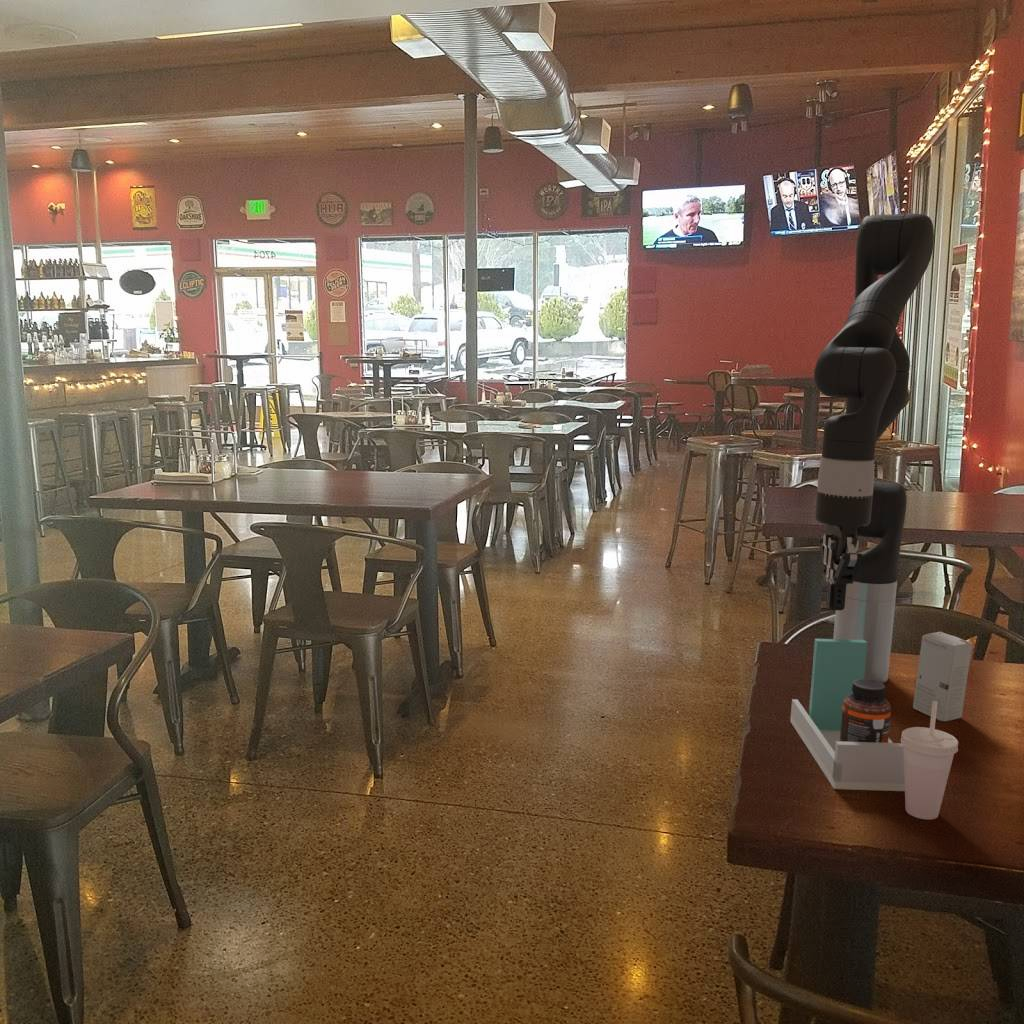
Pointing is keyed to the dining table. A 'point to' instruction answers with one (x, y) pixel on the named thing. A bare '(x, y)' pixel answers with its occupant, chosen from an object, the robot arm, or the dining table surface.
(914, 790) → the smoothie
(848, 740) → the supplement bottle
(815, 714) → the pusher
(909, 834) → the dining table surface
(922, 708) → the skincare box
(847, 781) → the lane
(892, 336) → the robot arm
